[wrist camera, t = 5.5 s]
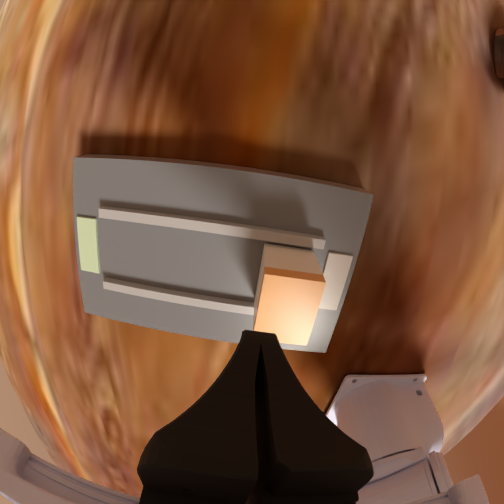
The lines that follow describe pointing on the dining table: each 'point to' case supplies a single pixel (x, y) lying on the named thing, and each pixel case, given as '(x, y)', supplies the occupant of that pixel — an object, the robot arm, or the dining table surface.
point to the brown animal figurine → (499, 52)
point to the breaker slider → (288, 293)
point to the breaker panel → (205, 241)
